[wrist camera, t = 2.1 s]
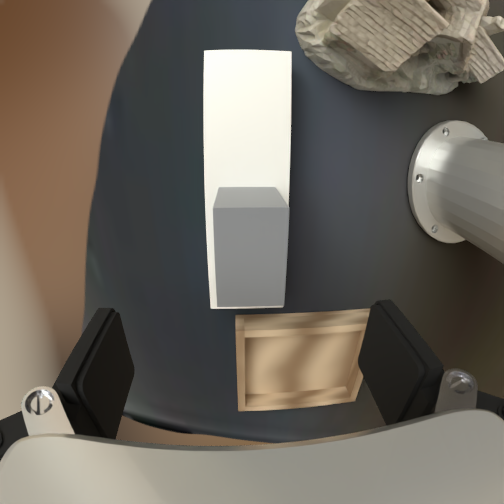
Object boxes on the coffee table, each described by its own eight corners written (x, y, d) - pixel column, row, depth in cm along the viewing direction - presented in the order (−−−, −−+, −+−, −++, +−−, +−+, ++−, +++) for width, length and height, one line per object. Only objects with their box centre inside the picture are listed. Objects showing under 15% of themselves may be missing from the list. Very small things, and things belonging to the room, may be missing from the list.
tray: (369, 308, 30) (379, 322, 28) (349, 386, 35) (354, 400, 32) (235, 314, 30) (235, 330, 27) (238, 395, 34) (238, 411, 32)
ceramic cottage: (267, 23, 20) (333, -74, 6) (376, -50, 16) (465, -109, 2) (389, 151, 25) (518, 190, 11) (469, 61, 22) (577, 62, 8)
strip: (283, 61, 21) (292, 50, 17) (277, 287, 29) (283, 309, 25) (208, 61, 21) (203, 49, 17) (213, 288, 28) (210, 311, 25)
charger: (271, 181, 24) (289, 207, 16) (269, 251, 26) (283, 305, 18) (220, 181, 24) (212, 207, 16) (222, 252, 26) (217, 306, 18)
